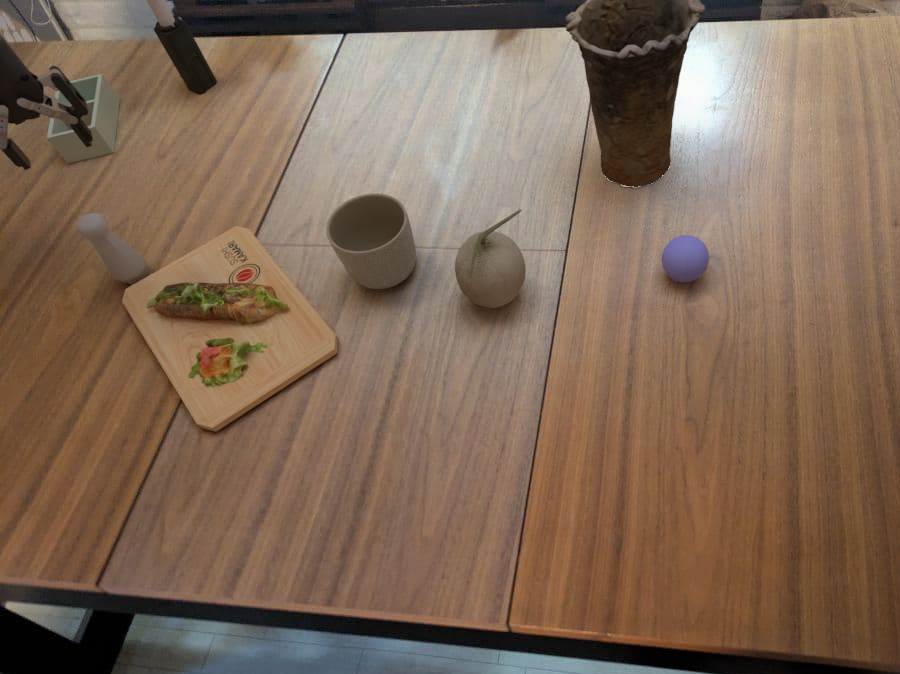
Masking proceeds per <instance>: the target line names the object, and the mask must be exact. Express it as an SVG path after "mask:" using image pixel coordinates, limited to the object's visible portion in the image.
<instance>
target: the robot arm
mask: <svg viewBox="0 0 900 674" xmlns="http://www.w3.org/2000/svg"><path fill="white" fill-rule="evenodd" d="M70 81H71V80H70V79H69V78H68V77H67V76H66V74H65V73H64V72H63V71H62V70H61V68H60V67H58V66H57V65H51V66H50V67H49V71H47V72H45V73H43V74H41V75H36V74H34V73H33V72H31V70H29V68H28V67H27V66H26V64H25V63H24V62H23V61H22V60H21V59H20V57H19V56H18V54H17V53H16V51H14V49H13V48H12V46H11V45H10V44H9V43H8V41H7V40H6V39H5V38H4V36H3V35H2V34H1V33H0V151H2V152H3V154H4V155H6V157H7V158H8V159H9V160H10V161H11V162H12V163H13V164H14V165H15V166H16V167H18V168H22V169H24V170H25V171H27V170H29V169H31V168H32V164H31V160H30V159H29V157H28V156H27V155H26V154H25V152H24V151H23V150H22V149H21V148H20V147H19V146H18V145H17V143H16V142H15V141H14V140H13V139H12V137H10V138H9V137H8V131H9V127H8V126H9V124H12V125H13V124H14V125H15V126H18V125H21V124H23V123H25V122H26V121H27V120H35V119H38V118H40V117H41V116H40V115H43V116H45V117H49V118H53V119H56V118H58V119H60V120H63V121H65V122H68V123H70V127H71V128H72V129H73V131H74V132H75V133H76V134H77V136H78V137H79V138H80V140H81V141H82V142H83V143H84V145H85V146H86V147H90V146H92V142H91V141H93V138H92V133H91V131H90V129H89V128H88V127H87V125H86V124H85V123H84V121H83V120H82V119H81V117H82V116H85V115H87V114H88V109H87V104H86V100H85V99H84V98H83V97H82V95H81V94H80V93H79V92H78V91H77V89H76V88H75V87H74V86H73V84H72V83H71V82H70ZM45 87H49V88H51V89H52V90H53V91H55V92H56V91H60V92H61V93H62V94H63V95H64V97H65V98H66V99H67V100H68V101H69V103H70V104H71V105H72V106H69V105H67V104H65V103H62V102H60V101H58V100H57V99H56V98H55V96H52V95H50V94H48V93H46V92H45Z"/></svg>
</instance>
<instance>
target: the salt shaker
mask: <svg viewBox="0 0 900 674" xmlns="http://www.w3.org/2000/svg"><path fill="white" fill-rule="evenodd" d="M76 230H77V232H78V233H79V235H81V237H83V238H84V239H86V240H89V241H90V242H91V244H92V246H93V247H94V249H95V251H96V252H97V253H98V255H99V257H100V259H101V260H102V262H103V263H104V266H105V267H106V269H107V270H108V272H109V273H110V275H111V277H113V278H114V280H117V281H119V282H122V283H124V284H127V283H128V285H131V284H132V285H133V284H135V283H137V282H139V281H140V280H142V279H144V278H146V277H147V276H148V275H149V268H148V263H147V261H146V259H145V257H144V255H143V254H141V253H140V252H139V251H138V250H137V249H135V248H134V247H132V246H131V245H130V244H128V243H127V241H125V240H123V239H122V238H121V237H120V236H118V235H117V234H115V232H113V231H112V230H111V229H110V224H109V222H108V220H107V219H106V218H105V216H103V215H102V214H100V213H98V212H90V213H87V214H84V215H82V216H80V218H79V219H78V220H77V223H76ZM132 285H131V286H132Z"/></svg>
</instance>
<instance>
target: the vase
mask: <svg viewBox="0 0 900 674" xmlns="http://www.w3.org/2000/svg"><path fill="white" fill-rule="evenodd" d="M705 12H706V7H705V4H703V3H702V2H701V0H586V1H584V2H583V3H582V4H580V6H578V7H577V8H576V10H575V11H571V12H570V13H569V14H567V15H566V16H565V19H564V20H565V24H566V25H565V29H566V32H568V33H569V34H570V36H571V39H572V40H573V41H574V42H576V43H577V44H578V49H579V51H580V53H581V55H580V56H581V58H582V59H583V63H584V71H585V79H586V83H587V87H588V92H589V100H590V107H591V113H592V116H593V121H594V127H595V133H596V137H597V140H598V144H599V149H600V168H602V169H601V173H602V175H603V174H604V175H605V176H606V178H608V179H609V180H610V181H613V182H616V183H615V184H617V183H619V184H618V185H620V184H622V185H626V186H634V187H638V186H643V187H645V186H647V185H648V184H650V185H652V184H651V183H653V182H655V183H656V181H658V179H659V178H661V177H662V175H664V174H665V173H667V172H668V171H669V170H668V168H669V166H670V167H671V165H670V162H671V163H672V161H671V159H672V158H671V147H672V132H673V119H674V115H675V106H676V105H675V104H676V99H677V95H678V94H677V93H678V88H679V83H680V82H679V81H680V75H681V72H682V67H683V63H684V59H685V55H686V52H687V49H688V42H689V40H690V37H691V33H692V31H693V30H694V29H695V28H696V27H697V25H698V23H699V19H700V18H701V16H702V15H703V14H705ZM669 169H670V168H669ZM604 175H603V176H604ZM665 175H666V174H665ZM665 175H664V176H665ZM606 178H605V179H606ZM659 180H660V179H659ZM653 184H654V183H653ZM644 185H645V186H644Z"/></svg>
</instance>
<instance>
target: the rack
mask: <svg viewBox="0 0 900 674" xmlns="http://www.w3.org/2000/svg"><path fill="white" fill-rule="evenodd" d="M69 81H70V82H71V83H72V84H73V86H74V87H75V88H76V89H77V91H78V92H79V93H80V94H81V95H82V97H83V98H84V99H85V100H86V104H87V109H88V114H87V115H85V116H82V117H81V119H82V120H83V121H84V123H85V124H86V125H87V127H88V128H89V129H90V131H91V133H92V138H93V141H91V142H92V146H90V147H86V146H85V145H84V143H83V142H82V141H81V140H80V138H79V137H78V136H77V134H76V133H75V132H74V131H73V129H72V128H71V127H70V123H68V122H65V121H63V120H60V119H58V118H56V119H53V118H51V117H49V118H50V119H49V123H48V130H47V135H46V140H47V141H48V142H49V143H50V144H51V145H52V147H54V149H55V150H56V151H57V153H58V154H59V155H60V156H61V157H62V159H63V160H64V161H65V162H66V164H68V165H69V164H73V163H77V162H81V161H86V160H90V159H94V158H98V157H102V156H106V155H111V154H114V153H115V148H116V147H115V145H116V136H117V129H118V120H119V113H120V112H119V111H120V104H121V103H120V102H121V99H120V97H119V96H118V94H117V93H116V92H115V91H114V89H113V87H112V85H110V83H109V81H108V80H107V79H106V77H105V76H104V74H103V73H98V74H95V75H90V76H85V77H81V78H78V79H77V78H76V79H73V80H69ZM54 97H55V98H56V99H57V100H58V101H60V102H62V103H65V104H67V105H69V106H72V105H71V104H70V103H69V101H68V100H67V99H66V98H65V97H64V95H63V94H62V93H61V92H60V91H55V93H54Z"/></svg>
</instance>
